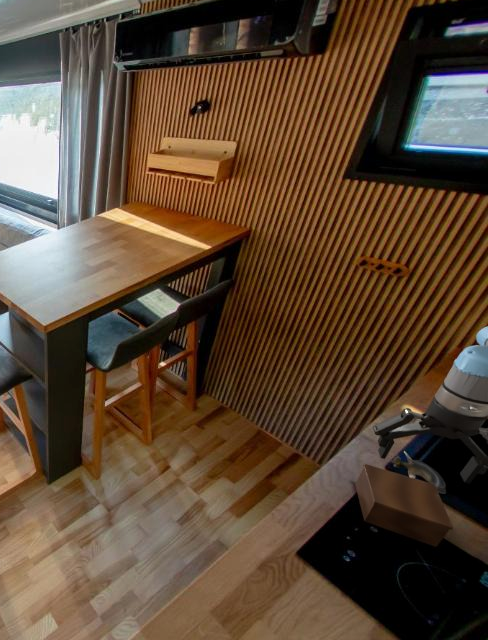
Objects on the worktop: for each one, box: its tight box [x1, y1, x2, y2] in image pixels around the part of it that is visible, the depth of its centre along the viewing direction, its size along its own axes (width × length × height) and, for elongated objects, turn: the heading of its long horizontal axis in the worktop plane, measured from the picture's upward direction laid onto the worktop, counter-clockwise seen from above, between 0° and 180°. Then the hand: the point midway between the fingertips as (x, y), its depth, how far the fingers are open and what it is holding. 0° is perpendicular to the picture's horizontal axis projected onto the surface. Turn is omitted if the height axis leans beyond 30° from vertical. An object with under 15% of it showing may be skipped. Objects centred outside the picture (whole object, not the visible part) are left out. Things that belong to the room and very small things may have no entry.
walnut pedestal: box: [355, 463, 454, 548], centre depth 86 cm, size 11×11×8 cm
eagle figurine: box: [390, 450, 447, 495], centre depth 92 cm, size 8×7×9 cm
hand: (421, 466), depth 91 cm, fingers open, 13 cm apart
